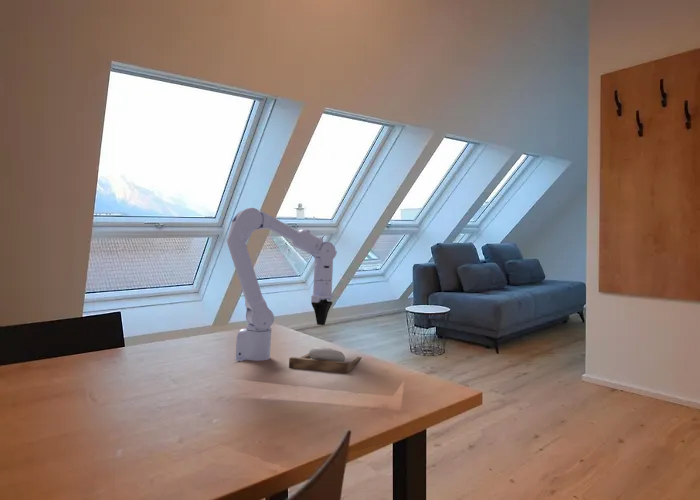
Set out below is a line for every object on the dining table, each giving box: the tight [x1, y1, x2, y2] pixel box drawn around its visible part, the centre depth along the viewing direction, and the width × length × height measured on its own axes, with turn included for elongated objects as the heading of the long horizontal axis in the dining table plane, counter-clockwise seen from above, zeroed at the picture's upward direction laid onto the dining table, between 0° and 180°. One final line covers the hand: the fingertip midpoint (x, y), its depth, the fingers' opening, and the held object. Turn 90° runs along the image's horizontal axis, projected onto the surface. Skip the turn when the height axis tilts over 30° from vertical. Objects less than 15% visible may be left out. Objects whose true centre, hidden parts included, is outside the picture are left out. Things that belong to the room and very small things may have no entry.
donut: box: [308, 346, 346, 362], centre depth 131 cm, size 10×4×10 cm
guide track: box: [288, 353, 363, 374], centre depth 134 cm, size 16×18×2 cm
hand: (321, 324), depth 146 cm, fingers closed
